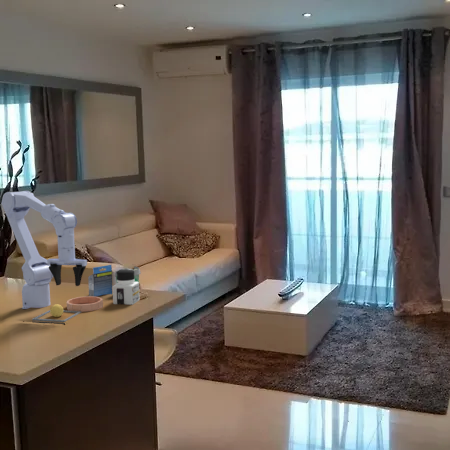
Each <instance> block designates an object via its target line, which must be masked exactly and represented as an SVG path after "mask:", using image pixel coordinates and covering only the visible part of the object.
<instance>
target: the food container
mask: <svg viewBox="0 0 450 450" xmlns="http://www.w3.org/2000/svg"><path fill="white" fill-rule="evenodd" d="M131 269H132V270H134V277H135V281H134V282H139V283H140V280H139V279H140V275H141V273H142V272H141V269H140V267H138V266H133V268H131ZM117 271H118V270H115V273H114V277H115V279H116V284H117V283H118V282H117Z"/></svg>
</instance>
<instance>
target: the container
mask: <svg viewBox="0 0 450 450" xmlns="http://www.w3.org/2000/svg"><path fill="white" fill-rule="evenodd" d="M132 269H133V268H121V269H117V270H116V271H117V281H116V283H115V284H114V285H113V284H112V304H113V305H135V304H136V303H137V302H139V301H140V299H141V298H140V281H139V282H134V281H135V277H134V270H132ZM117 282H118V283H117Z"/></svg>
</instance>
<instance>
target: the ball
mask: <svg viewBox="0 0 450 450" xmlns="http://www.w3.org/2000/svg"><path fill="white" fill-rule="evenodd" d="M49 310H50V312H49V313H50V314H51V316H52V317H55V318H58V317H59V318H60V317H61V316H63V314H64V312H63V310H64V307H63V306H62V305H61V304H59V303H58V304H57V303H56V304H53V305H52V306H51V307H50V309H49Z"/></svg>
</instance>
